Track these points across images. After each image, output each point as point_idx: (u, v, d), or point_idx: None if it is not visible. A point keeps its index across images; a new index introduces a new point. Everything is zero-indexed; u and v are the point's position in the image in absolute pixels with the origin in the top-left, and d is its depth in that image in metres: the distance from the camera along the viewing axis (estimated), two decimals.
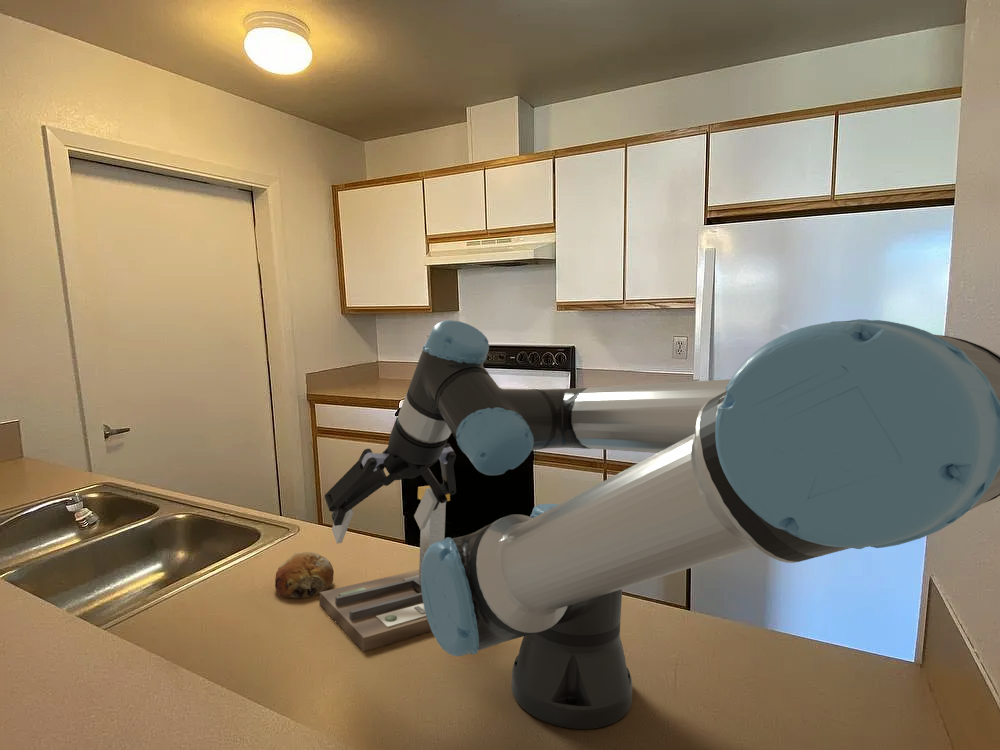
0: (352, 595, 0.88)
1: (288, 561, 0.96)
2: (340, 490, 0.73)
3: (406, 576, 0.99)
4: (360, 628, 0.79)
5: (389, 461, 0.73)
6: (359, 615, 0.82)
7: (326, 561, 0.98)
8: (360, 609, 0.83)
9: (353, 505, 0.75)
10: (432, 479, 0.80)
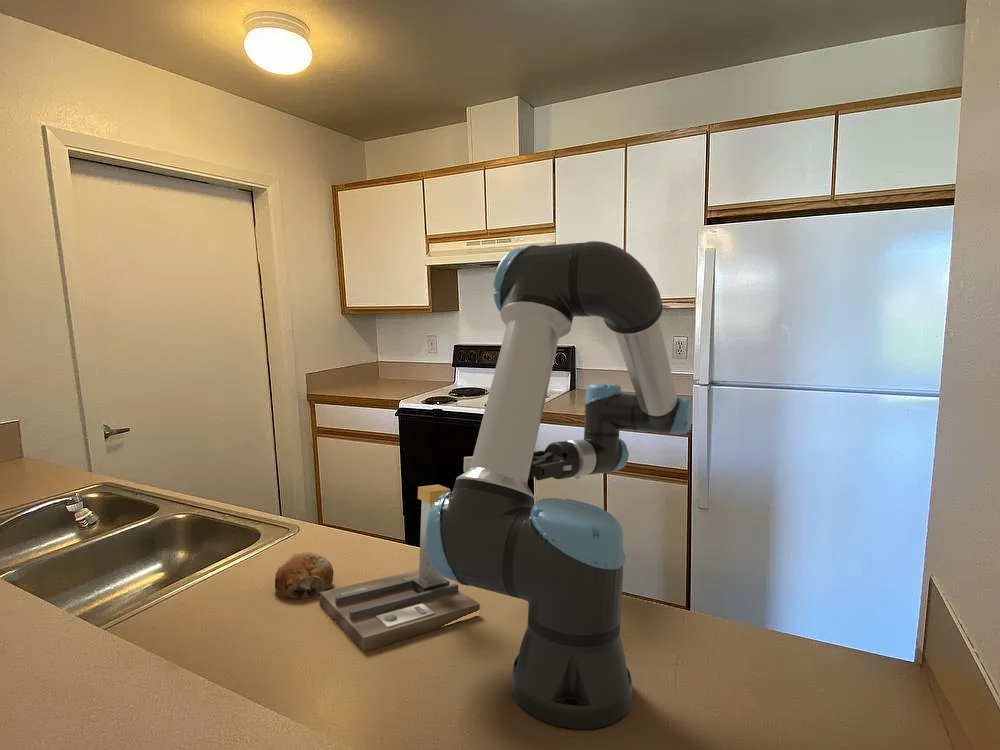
0: (352, 595, 0.88)
1: (288, 561, 0.96)
2: None
3: (406, 576, 0.99)
4: (360, 628, 0.79)
5: None
6: (359, 615, 0.82)
7: (326, 561, 0.98)
8: (360, 609, 0.83)
9: None
10: (542, 460, 1.03)
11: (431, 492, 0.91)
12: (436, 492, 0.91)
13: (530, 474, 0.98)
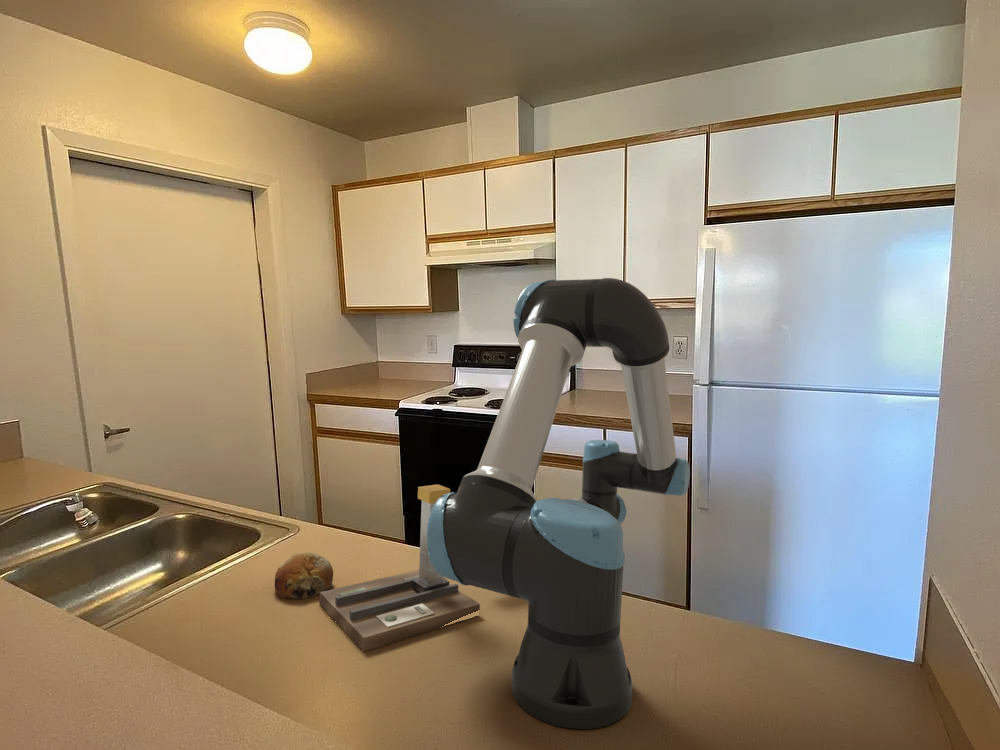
0: (352, 595, 0.88)
1: (287, 562, 0.96)
2: None
3: (406, 576, 0.99)
4: (360, 628, 0.79)
5: None
6: (359, 615, 0.82)
7: (326, 561, 0.98)
8: (360, 609, 0.83)
9: None
10: None
11: (431, 492, 0.91)
12: (436, 492, 0.91)
13: None
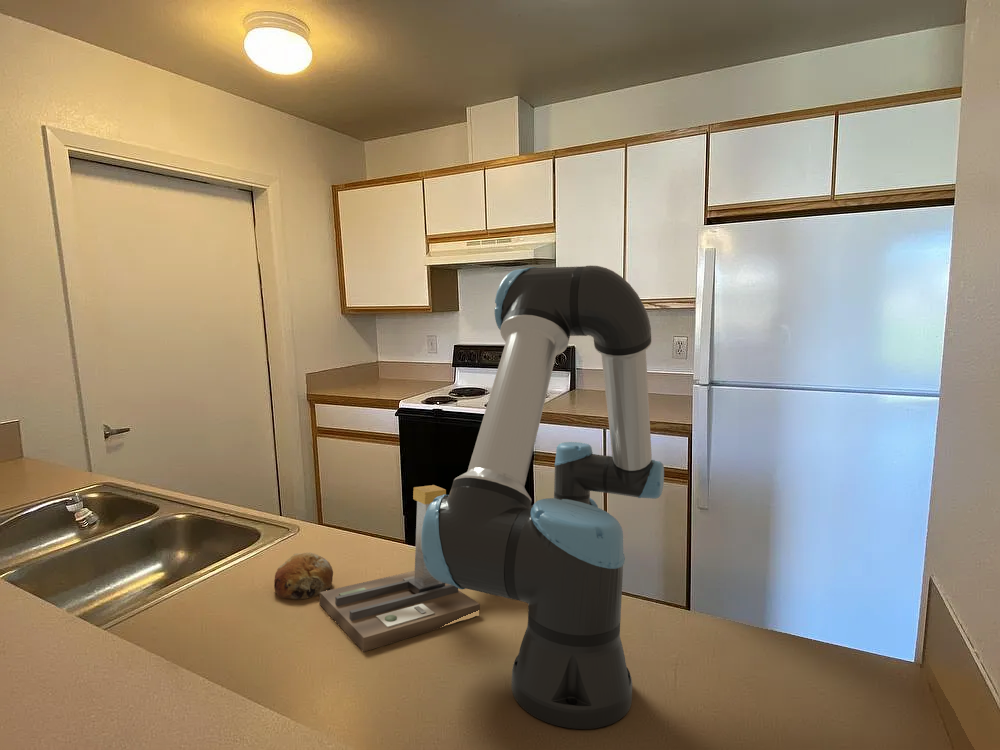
0: (352, 595, 0.88)
1: (287, 562, 0.96)
2: None
3: (406, 576, 0.99)
4: (360, 628, 0.79)
5: None
6: (359, 615, 0.82)
7: (325, 562, 0.97)
8: (360, 609, 0.83)
9: None
10: None
11: (426, 493, 0.90)
12: (431, 493, 0.91)
13: None
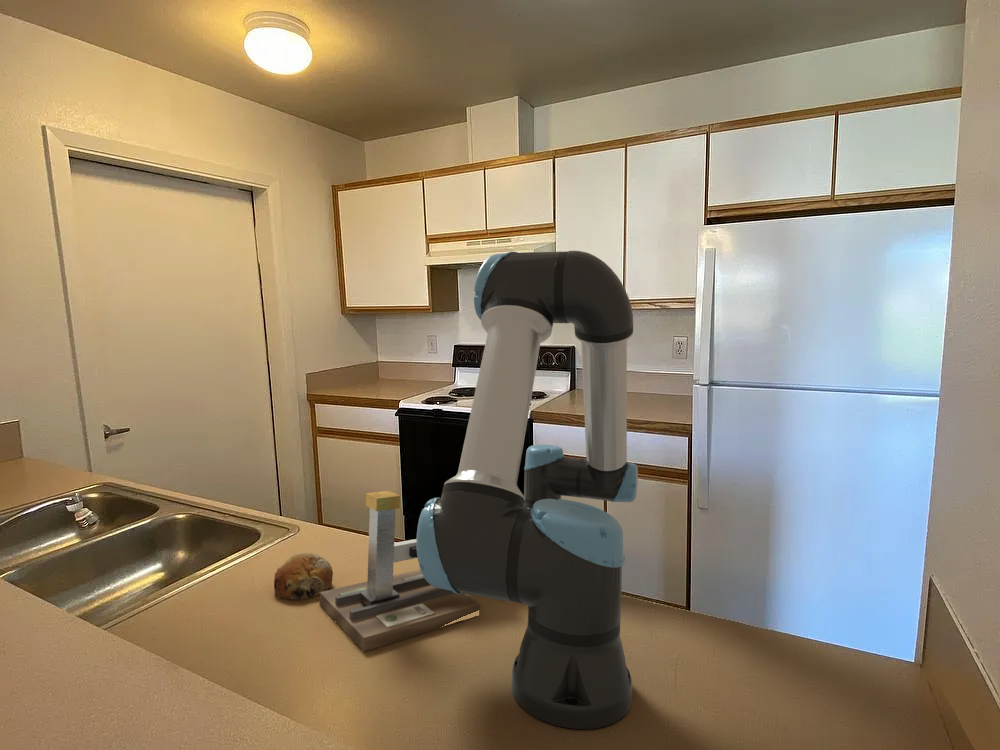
0: (352, 595, 0.88)
1: (287, 562, 0.95)
2: None
3: (406, 576, 0.99)
4: (360, 628, 0.79)
5: None
6: (359, 615, 0.82)
7: (325, 562, 0.97)
8: (360, 609, 0.83)
9: None
10: None
11: (378, 499, 0.85)
12: (384, 499, 0.85)
13: None
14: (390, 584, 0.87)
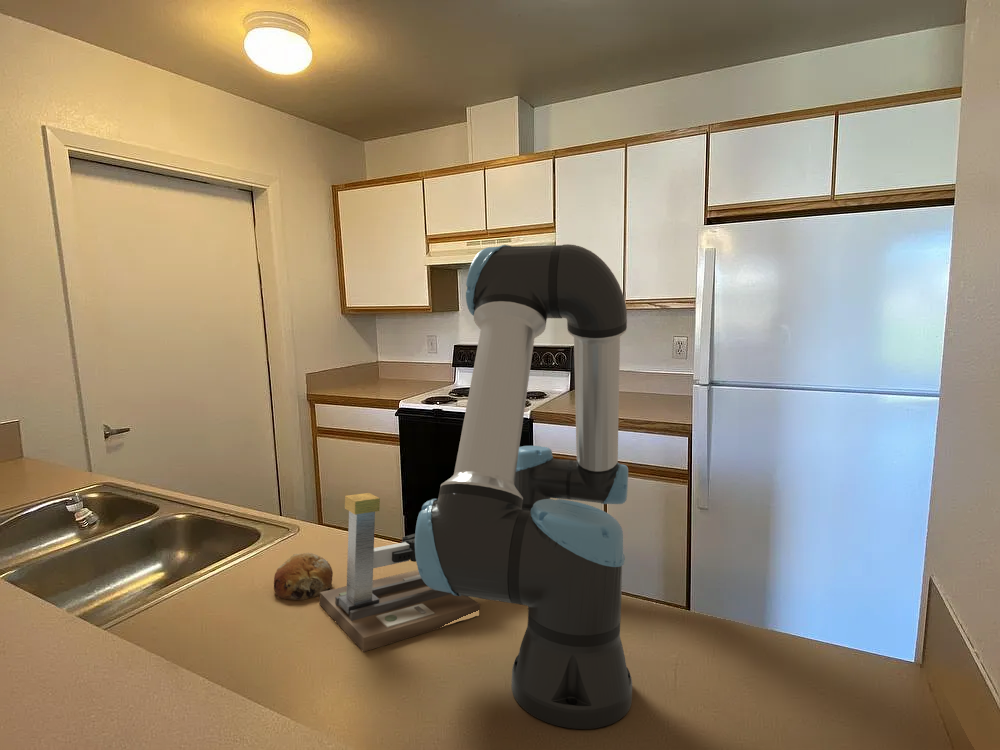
0: None
1: (287, 562, 0.95)
2: None
3: (406, 576, 0.99)
4: (360, 628, 0.79)
5: None
6: (359, 615, 0.82)
7: (325, 562, 0.97)
8: (360, 609, 0.83)
9: (414, 540, 0.92)
10: None
11: (357, 502, 0.83)
12: (363, 502, 0.83)
13: (412, 557, 0.89)
14: (370, 589, 0.85)
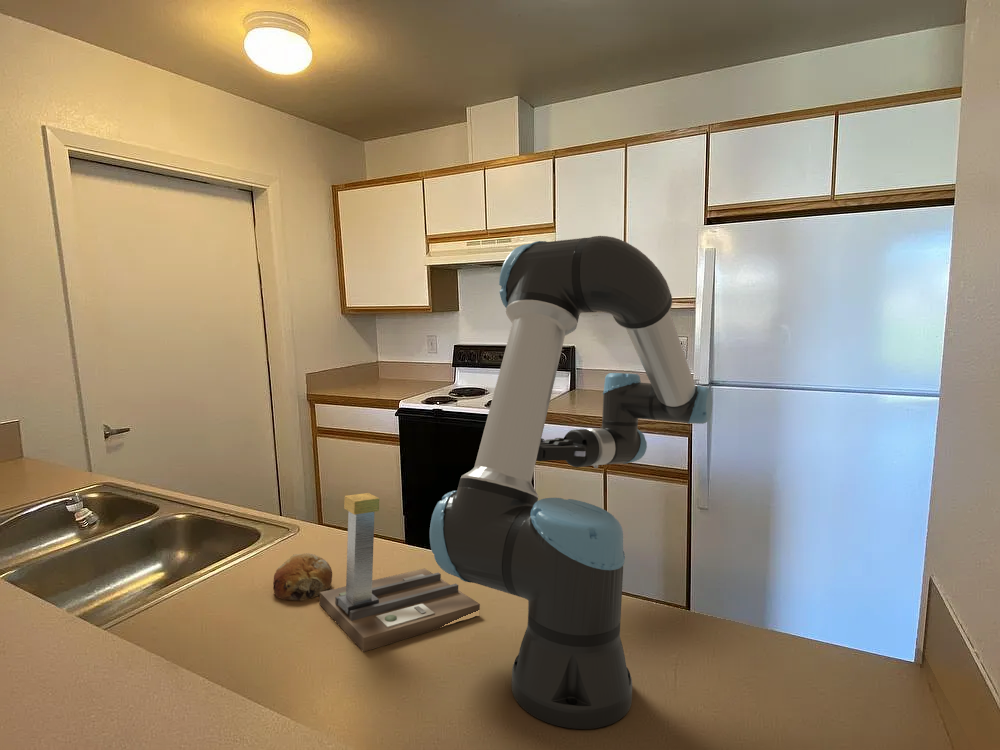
0: None
1: (286, 563, 0.95)
2: None
3: (406, 576, 0.99)
4: (360, 628, 0.79)
5: None
6: (359, 615, 0.82)
7: (325, 563, 0.97)
8: (360, 609, 0.83)
9: None
10: (553, 444, 1.03)
11: (356, 502, 0.83)
12: (362, 502, 0.83)
13: None
14: (369, 589, 0.85)
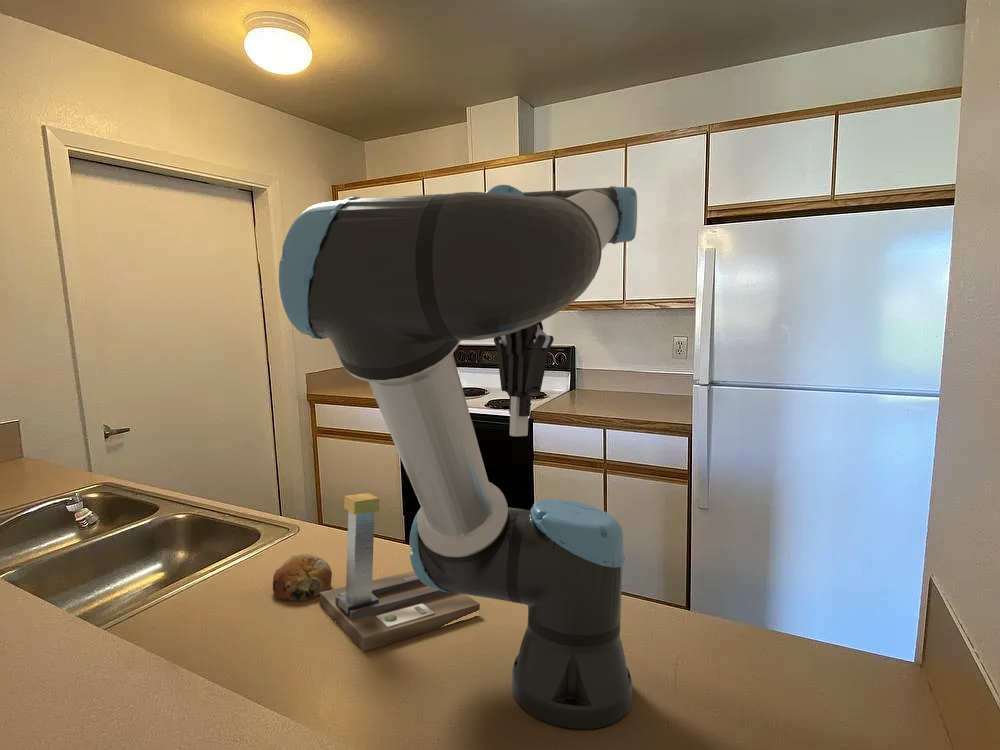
0: None
1: (286, 563, 0.95)
2: None
3: (406, 576, 0.99)
4: (360, 628, 0.79)
5: None
6: (359, 615, 0.82)
7: (324, 563, 0.97)
8: (360, 609, 0.83)
9: (511, 385, 0.91)
10: (522, 360, 0.89)
11: (356, 502, 0.83)
12: (362, 502, 0.83)
13: (529, 397, 0.90)
14: (369, 589, 0.85)
